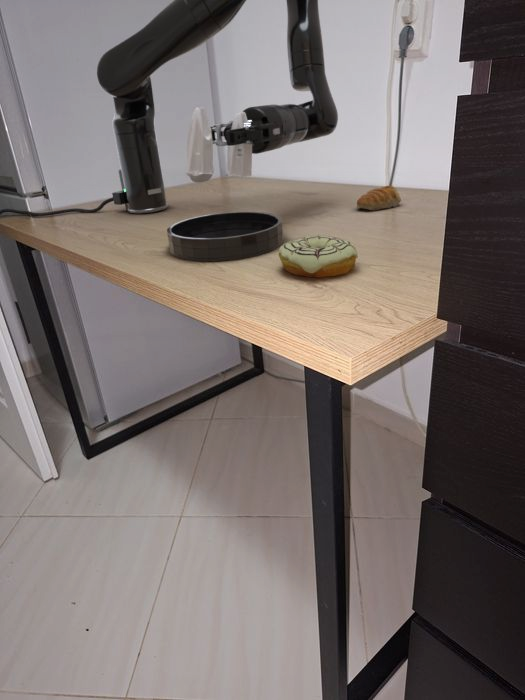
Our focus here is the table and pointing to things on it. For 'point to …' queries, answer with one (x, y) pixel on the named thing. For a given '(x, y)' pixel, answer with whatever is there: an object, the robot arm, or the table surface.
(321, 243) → the decorated donut
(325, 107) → the robot arm
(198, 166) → the shaker set
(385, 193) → the pastry
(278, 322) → the table surface
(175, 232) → the pan
